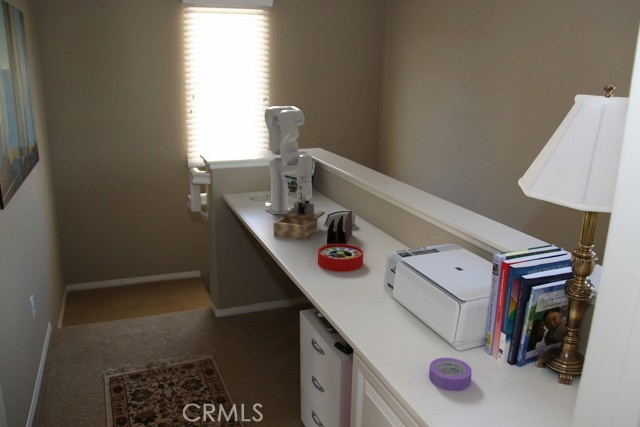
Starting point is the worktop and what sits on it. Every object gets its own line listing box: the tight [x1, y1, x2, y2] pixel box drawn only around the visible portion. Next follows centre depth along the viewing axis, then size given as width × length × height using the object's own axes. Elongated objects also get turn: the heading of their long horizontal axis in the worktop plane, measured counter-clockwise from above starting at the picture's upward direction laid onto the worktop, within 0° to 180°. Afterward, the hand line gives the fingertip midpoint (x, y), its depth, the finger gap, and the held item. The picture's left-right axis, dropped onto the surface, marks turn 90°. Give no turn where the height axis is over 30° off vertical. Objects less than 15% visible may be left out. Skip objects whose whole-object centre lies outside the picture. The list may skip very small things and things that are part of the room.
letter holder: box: [325, 209, 353, 246], centre depth 276 cm, size 10×20×14 cm, turn 169°
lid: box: [282, 201, 326, 221], centre depth 292 cm, size 18×14×6 cm
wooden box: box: [273, 216, 318, 241], centre depth 284 cm, size 18×14×7 cm
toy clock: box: [317, 244, 364, 273], centre depth 246 cm, size 20×6×20 cm
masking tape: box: [428, 357, 473, 392], centre depth 160 cm, size 12×12×4 cm
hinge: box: [323, 209, 356, 228], centre depth 300 cm, size 17×5×10 cm, turn 111°
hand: (304, 211), depth 293 cm, fingers open, 6 cm apart
